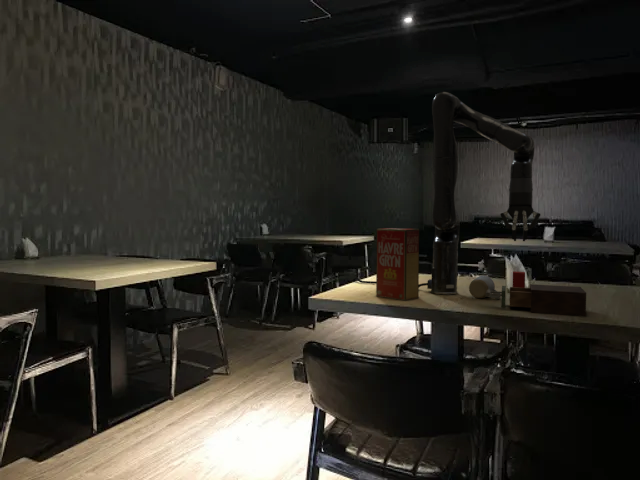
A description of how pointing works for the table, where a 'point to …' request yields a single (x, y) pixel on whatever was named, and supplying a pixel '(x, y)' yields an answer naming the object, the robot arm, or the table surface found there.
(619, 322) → the table surface
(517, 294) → the drawer
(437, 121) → the robot arm
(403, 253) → the food packaging
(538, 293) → the cabinet
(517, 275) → the block
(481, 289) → the ceramic mug
